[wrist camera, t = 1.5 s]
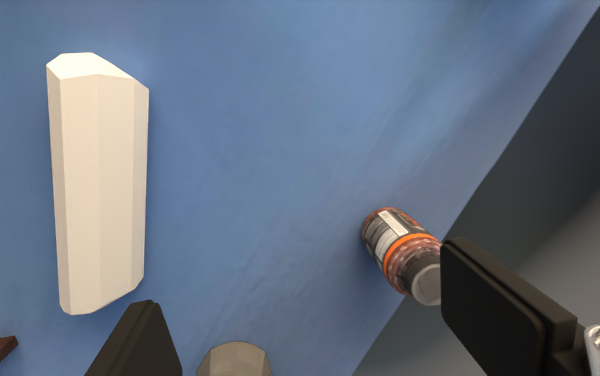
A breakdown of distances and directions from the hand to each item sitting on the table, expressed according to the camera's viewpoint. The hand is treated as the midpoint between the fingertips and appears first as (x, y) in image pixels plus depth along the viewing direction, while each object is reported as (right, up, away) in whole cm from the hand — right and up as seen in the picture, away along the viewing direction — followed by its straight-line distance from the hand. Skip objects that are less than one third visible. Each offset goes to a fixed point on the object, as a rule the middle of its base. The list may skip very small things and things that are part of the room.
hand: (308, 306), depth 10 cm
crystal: (-19, +4, +21) cm, 29 cm away
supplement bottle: (+9, -1, +26) cm, 28 cm away
